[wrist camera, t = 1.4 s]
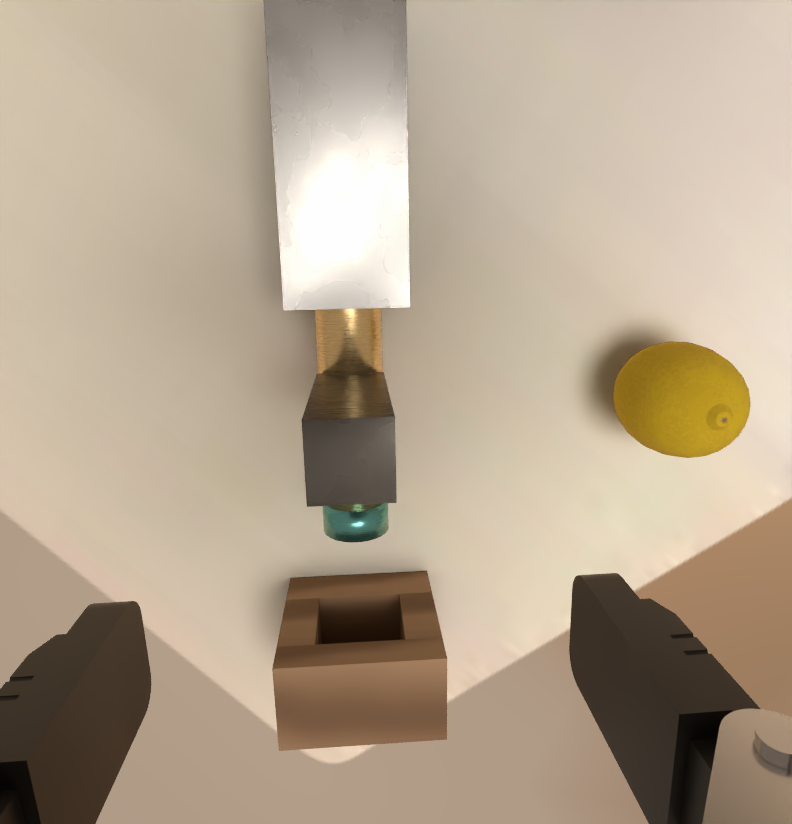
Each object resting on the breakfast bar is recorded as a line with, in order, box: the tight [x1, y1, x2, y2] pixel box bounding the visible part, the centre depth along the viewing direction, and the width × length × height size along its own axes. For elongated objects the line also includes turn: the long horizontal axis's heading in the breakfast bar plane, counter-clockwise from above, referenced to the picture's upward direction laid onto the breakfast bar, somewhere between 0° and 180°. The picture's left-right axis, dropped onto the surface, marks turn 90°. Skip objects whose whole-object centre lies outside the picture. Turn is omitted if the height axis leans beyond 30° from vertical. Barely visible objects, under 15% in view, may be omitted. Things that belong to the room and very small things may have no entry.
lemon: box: [613, 342, 750, 458], centre depth 30 cm, size 6×6×8 cm
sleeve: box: [264, 0, 410, 310], centre depth 26 cm, size 13×5×7 cm, turn 1°
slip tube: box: [302, 308, 396, 542], centre depth 24 cm, size 22×3×10 cm, turn 1°
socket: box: [272, 571, 447, 751], centre depth 32 cm, size 4×8×8 cm, turn 91°
